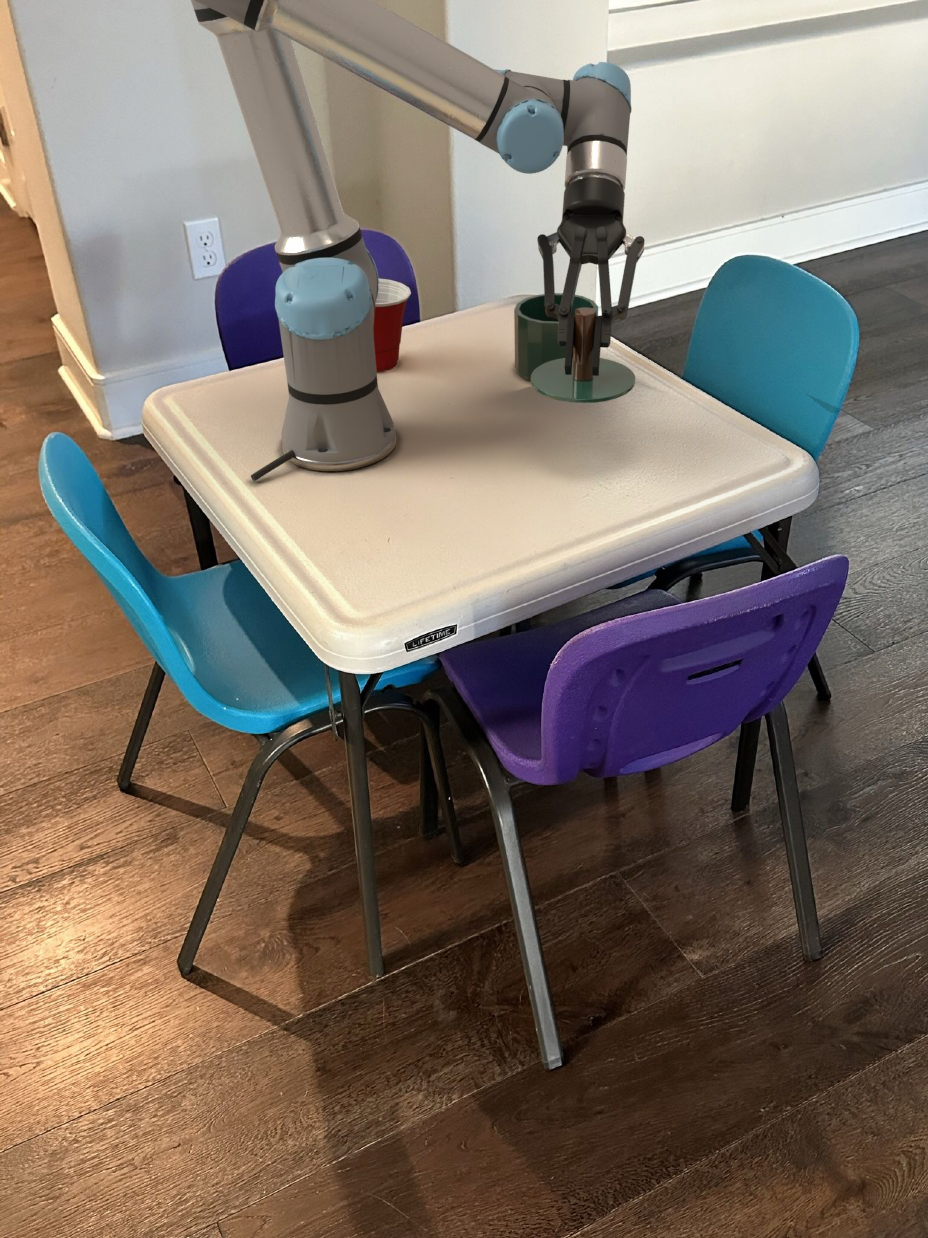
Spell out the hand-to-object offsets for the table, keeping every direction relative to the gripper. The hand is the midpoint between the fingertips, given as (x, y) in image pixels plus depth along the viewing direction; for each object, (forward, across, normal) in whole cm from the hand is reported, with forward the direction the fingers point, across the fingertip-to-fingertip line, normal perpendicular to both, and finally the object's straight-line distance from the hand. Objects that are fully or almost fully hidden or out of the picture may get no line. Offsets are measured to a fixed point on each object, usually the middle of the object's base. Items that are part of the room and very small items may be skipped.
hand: (581, 370), depth 136 cm
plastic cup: (-12, +32, -32) cm, 47 cm away
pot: (-12, +5, -32) cm, 34 cm away
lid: (-1, 0, -5) cm, 5 cm away
